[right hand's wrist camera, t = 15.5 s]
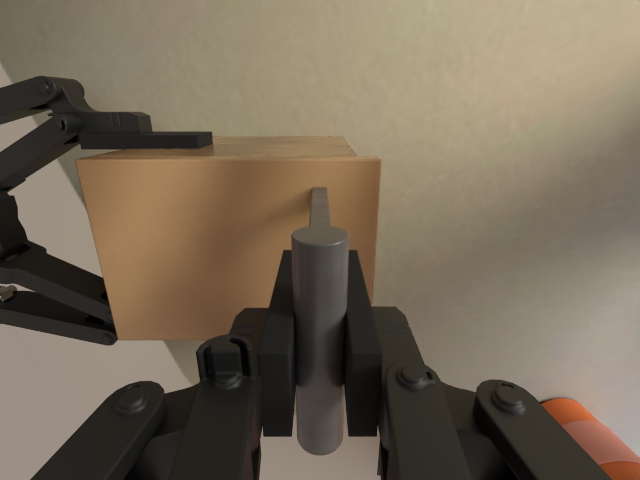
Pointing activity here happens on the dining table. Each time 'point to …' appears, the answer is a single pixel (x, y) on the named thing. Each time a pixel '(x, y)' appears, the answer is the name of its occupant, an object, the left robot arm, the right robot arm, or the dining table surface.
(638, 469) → the cup with straw
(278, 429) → the right robot arm
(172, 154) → the chest
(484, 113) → the dining table surface
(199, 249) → the lid
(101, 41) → the dining table surface
